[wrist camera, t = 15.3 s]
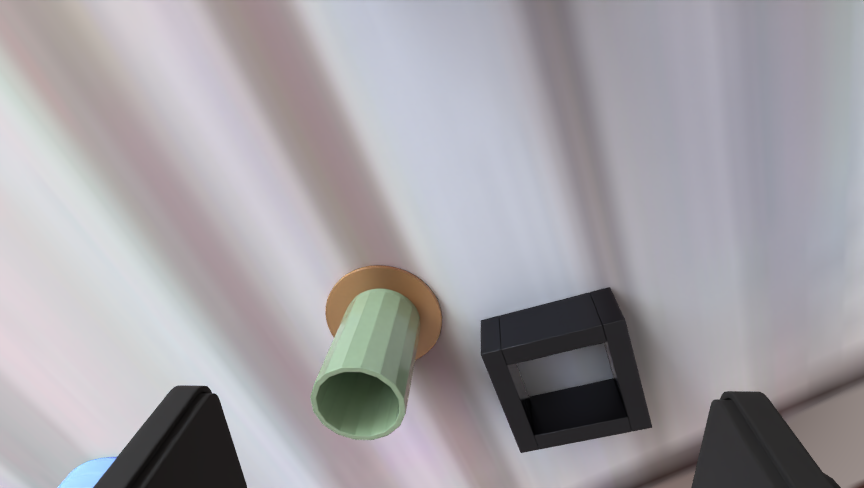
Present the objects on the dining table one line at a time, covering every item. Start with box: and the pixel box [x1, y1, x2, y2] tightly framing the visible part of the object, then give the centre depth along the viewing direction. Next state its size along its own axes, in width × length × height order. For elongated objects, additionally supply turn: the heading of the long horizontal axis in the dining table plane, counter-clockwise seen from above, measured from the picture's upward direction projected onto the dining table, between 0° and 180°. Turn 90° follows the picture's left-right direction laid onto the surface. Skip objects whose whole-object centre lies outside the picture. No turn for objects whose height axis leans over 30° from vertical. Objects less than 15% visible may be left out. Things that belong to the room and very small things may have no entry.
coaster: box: [326, 265, 442, 360], centre depth 42 cm, size 10×10×1 cm
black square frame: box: [481, 287, 652, 453], centre depth 41 cm, size 11×11×5 cm
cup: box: [310, 289, 421, 440], centre depth 38 cm, size 6×6×10 cm
